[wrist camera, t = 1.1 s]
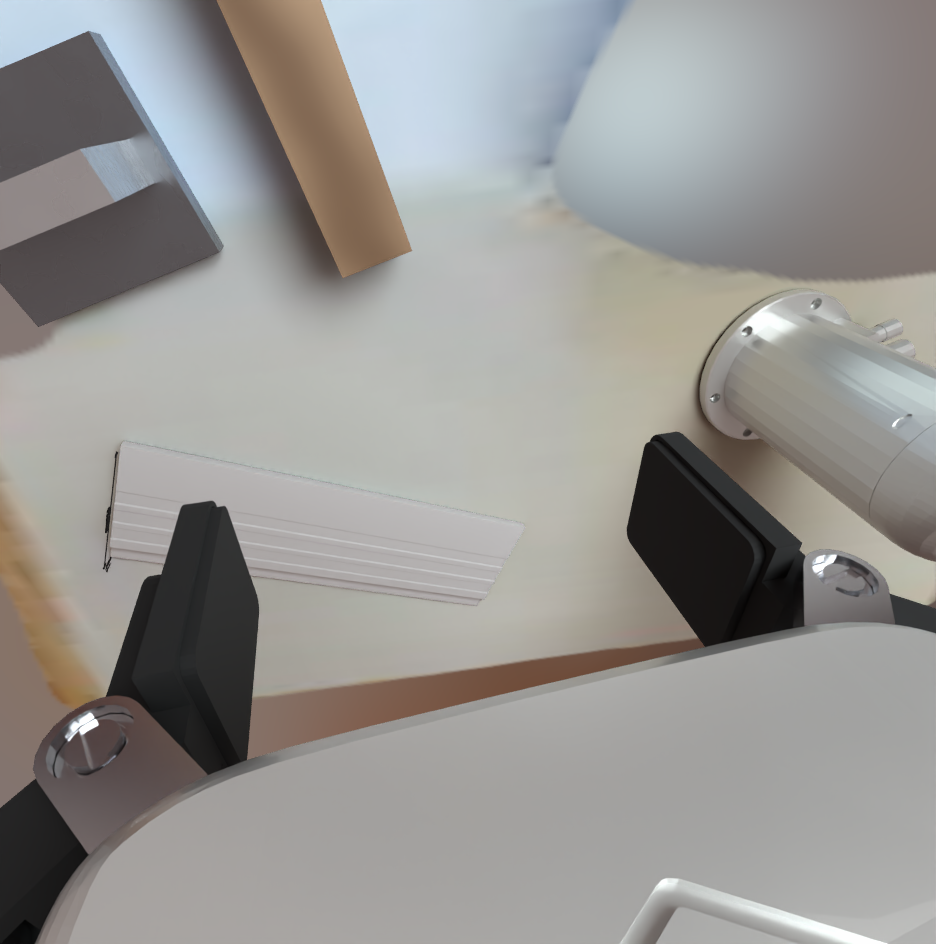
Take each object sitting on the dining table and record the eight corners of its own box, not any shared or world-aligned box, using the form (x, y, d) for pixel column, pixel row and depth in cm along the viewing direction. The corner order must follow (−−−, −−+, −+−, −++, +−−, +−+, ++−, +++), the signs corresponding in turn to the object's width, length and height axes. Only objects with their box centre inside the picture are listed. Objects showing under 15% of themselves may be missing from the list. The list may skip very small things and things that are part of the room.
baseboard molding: (469, 608, 54) (520, 516, 49) (475, 631, 52) (530, 537, 46) (111, 561, 42) (125, 433, 37) (98, 589, 40) (112, 456, 35)
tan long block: (265, -139, 24) (252, -188, 20) (402, 232, 33) (412, 250, 29) (181, -105, 24) (150, -146, 20) (341, 256, 33) (342, 278, 29)
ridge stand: (100, 34, 25) (21, 12, 19) (223, 246, 31) (196, 284, 25) (-114, 124, 26) (-263, 133, 19) (49, 318, 32) (-23, 374, 25)
